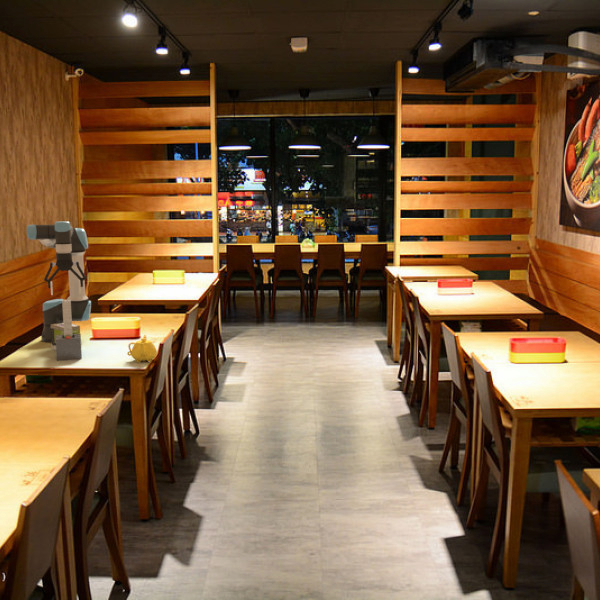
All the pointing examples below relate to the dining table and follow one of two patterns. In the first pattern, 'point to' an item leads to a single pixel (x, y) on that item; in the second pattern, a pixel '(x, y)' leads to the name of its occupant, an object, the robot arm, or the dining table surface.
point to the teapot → (143, 350)
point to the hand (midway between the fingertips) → (66, 294)
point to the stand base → (68, 347)
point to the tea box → (61, 332)
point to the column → (67, 318)
